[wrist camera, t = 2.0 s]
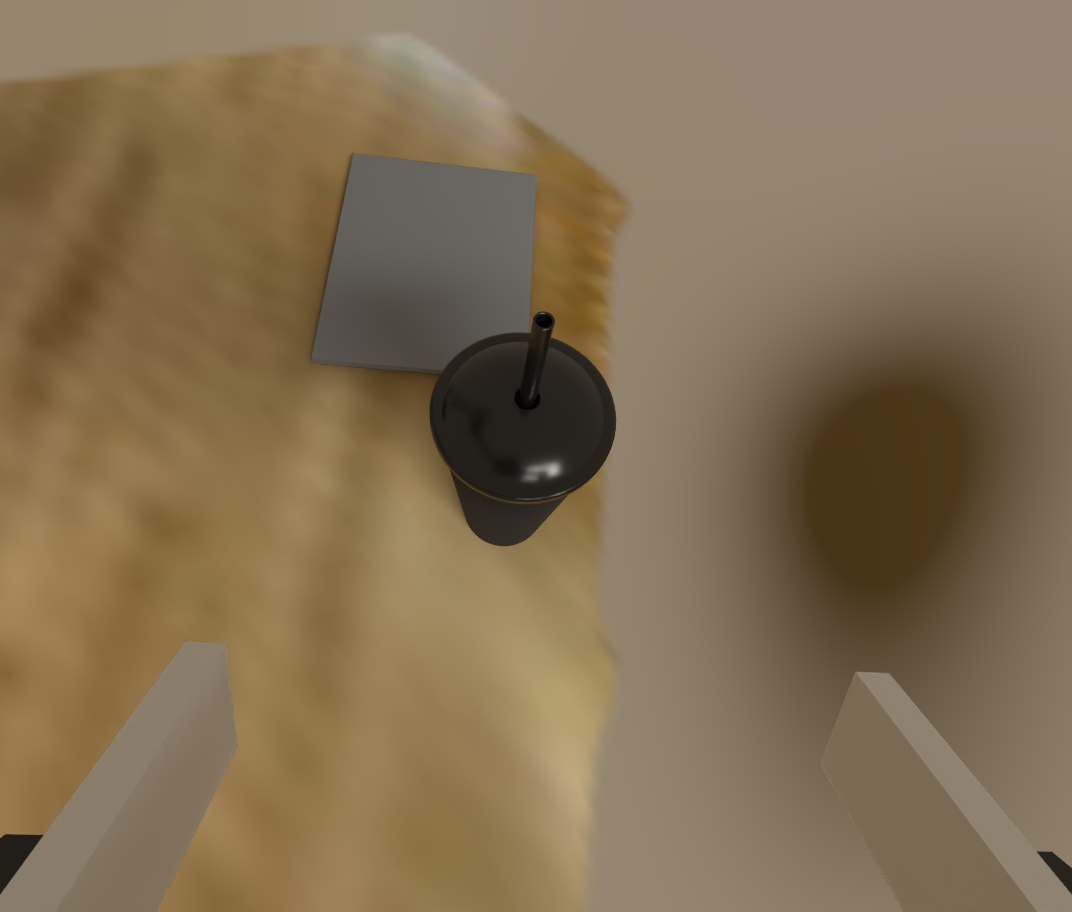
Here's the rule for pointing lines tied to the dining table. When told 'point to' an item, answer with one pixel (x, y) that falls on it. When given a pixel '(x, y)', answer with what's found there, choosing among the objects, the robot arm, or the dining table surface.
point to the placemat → (425, 264)
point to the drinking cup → (520, 428)
